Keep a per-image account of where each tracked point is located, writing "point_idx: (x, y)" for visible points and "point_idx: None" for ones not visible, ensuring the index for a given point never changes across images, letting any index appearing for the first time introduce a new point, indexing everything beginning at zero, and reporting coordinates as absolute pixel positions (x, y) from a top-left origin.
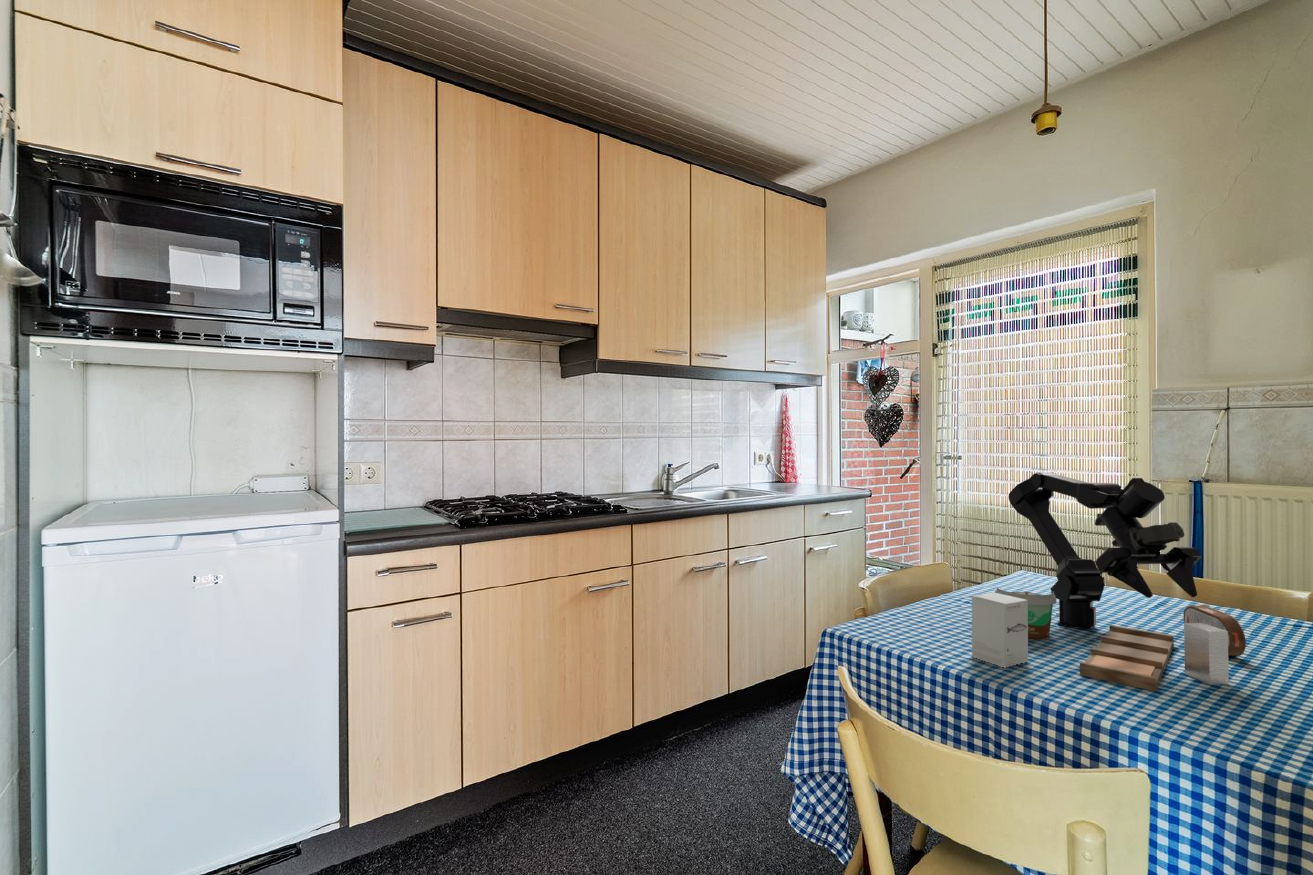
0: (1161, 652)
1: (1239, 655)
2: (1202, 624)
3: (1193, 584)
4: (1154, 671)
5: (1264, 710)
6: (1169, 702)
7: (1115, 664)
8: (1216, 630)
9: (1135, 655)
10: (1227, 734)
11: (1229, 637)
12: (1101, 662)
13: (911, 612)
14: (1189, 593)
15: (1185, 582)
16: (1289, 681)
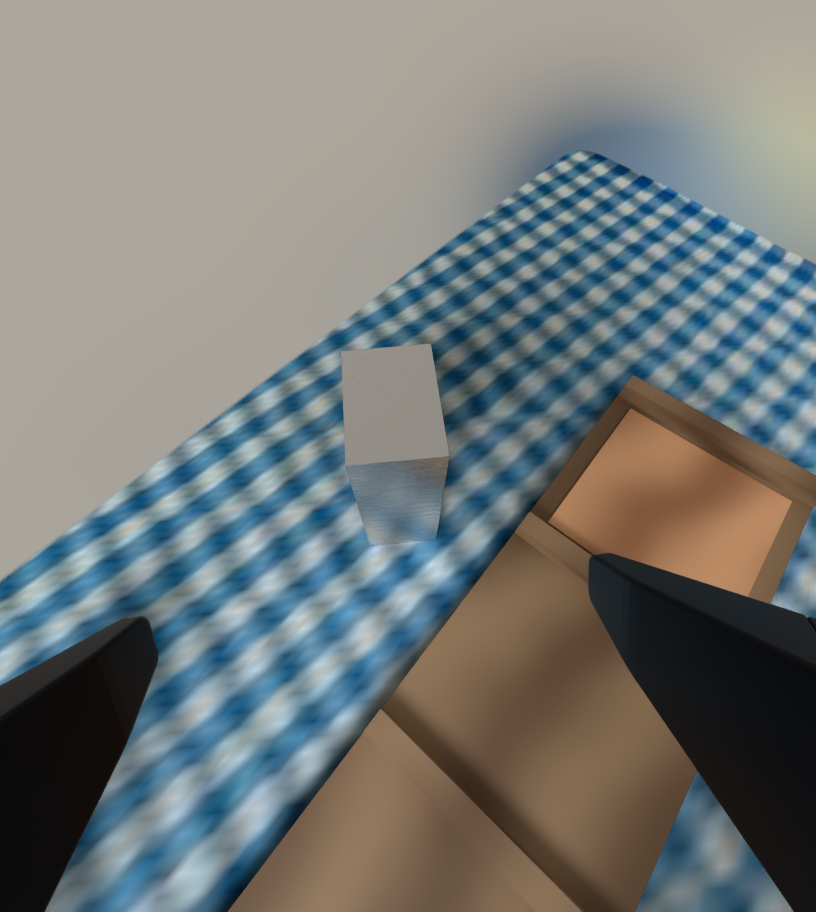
0: (400, 724)
1: None
2: (367, 441)
3: (23, 680)
4: (571, 483)
5: (424, 320)
6: (616, 341)
7: (685, 529)
8: (384, 356)
9: (548, 665)
10: (585, 234)
11: None
12: (730, 547)
13: None
14: (136, 692)
15: (27, 781)
16: (150, 496)
